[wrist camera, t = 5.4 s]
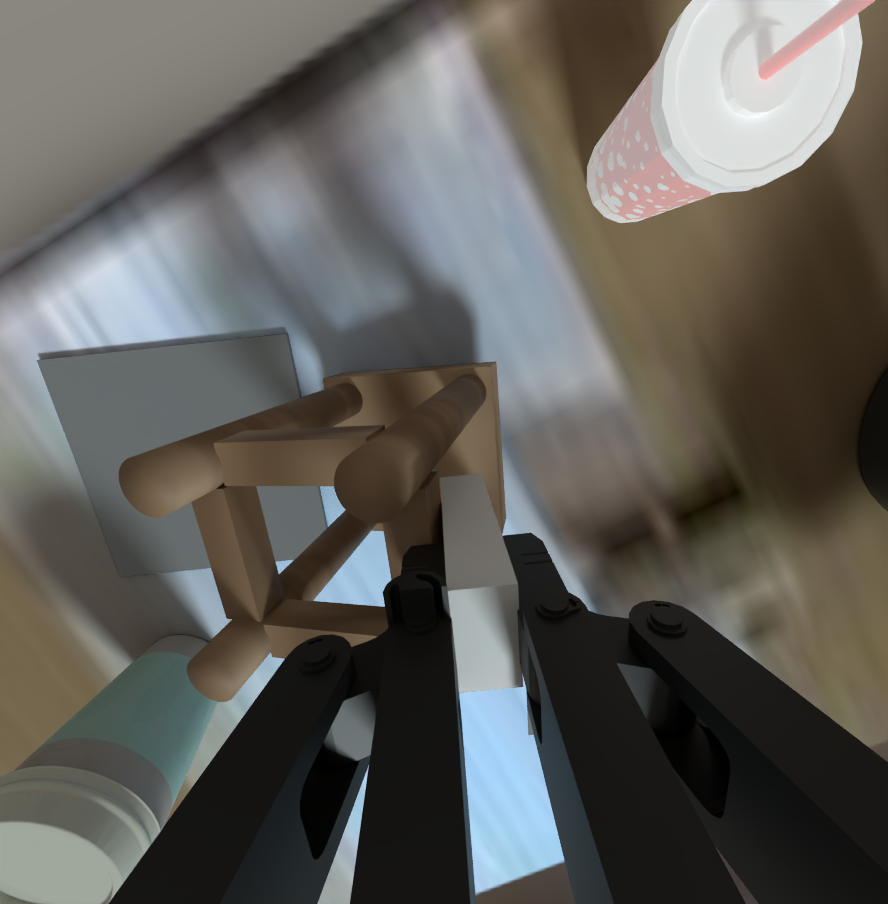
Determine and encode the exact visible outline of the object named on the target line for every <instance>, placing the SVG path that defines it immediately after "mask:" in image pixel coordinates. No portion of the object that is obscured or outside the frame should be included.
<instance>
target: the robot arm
mask: <svg viewBox="0 0 888 904" xmlns="http://www.w3.org/2000/svg"><path fill="white" fill-rule="evenodd" d="M860 463H861V469H862V473H863V477H864V479H865V482H866V484H867V486H868V488H869V490H870V492H871V493H872V495H873V497H874V498H875V499H876V500H877V502H878V503H879V504H880V505H881V506H882V507H883V508H885V509H886V510H887V511H888V370H887V372H886V373H885V375H884V376H883V378H882V379H881V381H880V383H879V385H878V386H877V388H876V390H875V392H874V394H873V396H872V399H871V401H870V403H869V406H868V408H867V411H866V414H865V418H864V421H863V425H862V430H861V436H860ZM440 482H441V499H442V517H443V535H444V543H437V544H427V545H417V546H411V547H410V548H409V549H408V551H407V552H406V553H405V554H404V556H403V560H402V570H401V575H400V576H397V577H395V578H394V579H392V580H391V581H390V582H389V583H388V584H387V585H386V587H385V589H384V591H383V596H384V603H385V609H386V615H387V621H388V629H387V630H386V631H385V632H383V633H382V634H380V635H379V636H377V637H376V638H374V639H371V640H369V641H367V642H364V643H361V644H358V645H355V646H352V647H351V645H350V643H349V642H348V641H347V640H346V639H345V638H344V637H342V636H338V635H334V634H330V635H320V636H317V637H314V638H311V639H308V640H306V641H305V642H303V643H301V644H300V645H298V646H296V647H295V648H294V649H293V650H292V652H291V653H290V654H289V655H288V656H287V657H286V658H285V660H284V661H283V662H282V664H281V665H280V667H279V668H278V669H277V671H276V672H275V674H274V675H273V676H272V678H271V679H270V680H269V682H268V683H267V685H266V686H265V687H264V689H263V690H262V692H261V693H260V694H259V696H258V697H257V698H256V700H255V701H254V703H253V704H252V705H251V707H250V708H249V710H248V711H247V712H246V714H245V715H244V716H243V718H242V719H241V721H240V722H239V723H238V725H237V726H236V728H235V729H234V730H233V732H232V733H231V734H230V736H229V737H228V739H227V740H226V741H225V743H224V744H223V746H222V747H221V748H220V750H219V751H218V752H217V754H216V755H215V757H214V758H213V759H212V761H211V762H210V764H209V765H208V766H207V768H206V769H205V770H204V772H203V773H202V775H201V776H200V777H199V779H198V780H197V782H196V783H195V784H194V786H193V787H192V788H191V790H190V791H189V793H188V794H187V795H186V797H185V798H184V800H183V801H182V802H181V804H180V805H179V807H178V808H177V809H176V811H175V812H174V813H173V815H172V816H171V818H170V819H169V820H168V822H167V823H166V825H165V826H164V827H163V829H162V830H161V831H160V833H159V834H158V836H157V837H156V838H155V840H154V841H153V843H152V844H151V845H150V847H149V848H148V849H147V851H146V852H145V854H144V855H143V856H142V858H141V859H140V861H139V862H138V863H137V865H136V866H135V867H134V869H133V870H132V872H131V873H130V874H129V876H128V877H127V879H126V880H125V881H124V883H123V884H122V885H121V887H120V888H119V890H118V891H117V892H116V894H115V895H114V897H113V898H112V899H111V901H110V902H109V903H108V904H317V903H318V900H319V898H320V895H321V892H322V889H323V887H324V884H325V881H326V879H327V876H328V873H329V871H330V868H331V865H332V862H333V860H334V857H335V854H336V852H337V849H338V846H339V844H340V841H341V838H342V835H343V833H344V830H345V827H346V825H347V822H348V819H349V817H350V814H351V811H352V808H353V806H354V803H355V800H356V798H357V795H358V792H359V790H360V787H361V784H362V781H363V779H364V776H365V773H366V771H367V768H368V765H369V769H368V777H367V784H366V791H365V798H364V806H363V813H362V820H361V827H360V835H359V842H358V849H357V857H356V864H355V871H354V878H353V886H352V893H351V900H350V904H476V898H475V886H474V873H473V860H472V847H471V834H470V822H469V809H468V796H467V783H466V770H465V758H464V745H463V732H462V719H461V709H460V700H459V693H464V692H474V691H485V690H495V689H505V688H515V687H523V677H524V681H525V685H526V689H527V711H528V733H529V735H533V734H534V737H535V741H536V745H537V749H538V753H539V757H540V762H541V766H542V770H543V774H544V778H545V782H546V786H547V790H548V794H549V798H550V802H551V806H552V811H553V815H554V819H555V823H556V827H557V831H558V835H559V839H560V843H561V847H562V851H563V855H564V860H565V864H566V867H567V872H568V876H569V880H570V883H571V888H572V892H573V896H574V900H575V904H746V903H745V901H744V900H743V898H742V896H741V894H740V892H739V890H738V888H737V887H736V885H735V883H734V881H733V879H732V877H731V875H730V873H729V872H728V870H727V868H726V866H725V864H724V862H723V861H722V859H721V857H720V855H719V853H718V851H717V849H718V850H719V852H720V853H721V854H722V856H723V857H724V858H725V860H726V861H727V862H728V863H729V865H730V866H731V868H732V869H733V870H734V872H735V873H736V874H737V875H738V877H739V878H740V879H741V881H742V882H743V883H744V885H745V886H746V887H747V889H748V890H749V891H750V893H751V894H752V895H753V896H754V898H755V899H756V901H757V902H758V903H759V904H888V762H887V761H885V760H884V759H883V758H882V757H880V756H879V755H878V754H876V753H875V752H874V751H873V750H871V749H870V748H869V747H867V746H866V745H865V744H863V743H862V742H861V741H860V740H858V739H857V738H856V737H854V736H853V735H852V734H850V733H849V732H848V731H847V730H845V729H844V728H843V727H841V726H840V725H839V724H837V723H836V722H835V721H833V720H832V719H831V718H830V717H828V716H827V715H826V714H824V713H823V712H822V711H820V710H819V709H818V708H817V707H815V706H814V705H813V704H811V703H810V702H809V701H807V700H806V699H805V698H804V697H802V696H801V695H800V694H798V693H797V692H796V691H794V690H793V689H792V688H790V687H789V686H788V685H787V684H785V683H784V682H783V681H781V680H780V679H779V678H777V677H776V676H775V675H774V674H772V673H771V672H770V671H768V670H767V669H766V668H764V667H763V666H762V665H760V664H759V663H758V662H757V661H755V660H754V659H753V658H751V657H750V656H749V655H747V654H746V653H745V652H744V651H742V650H741V649H740V648H738V647H737V646H736V645H734V644H733V643H732V642H731V641H729V640H728V639H727V638H725V637H724V636H723V635H721V634H720V633H719V632H717V631H716V630H715V629H714V628H712V627H711V626H710V625H708V624H707V623H706V622H704V621H703V620H702V619H701V618H699V617H698V616H697V615H695V614H694V613H692V612H691V611H689V610H687V609H685V608H684V607H682V606H679V605H676V604H673V603H670V602H664V601H655V600H653V601H646V602H641V603H639V604H637V605H635V606H633V608H632V610H631V611H630V613H629V619H627V618H619V617H611V616H605V615H600V614H596V613H593V612H591V611H588V609H587V607H586V605H585V604H584V603H583V602H582V601H581V600H580V599H579V598H578V597H576V596H574V595H573V594H571V593H568V591H567V589H566V587H565V585H564V583H563V581H562V579H561V577H560V575H559V573H558V571H557V569H556V567H555V565H554V563H552V559H551V557H550V555H549V554H548V551H547V549H546V547H545V545H544V543H543V541H542V540H540V539H539V538H537V537H536V536H535V535H533V534H532V533H525V534H515V535H505V536H502V534H501V531H500V528H499V525H498V521H497V518H496V515H495V512H494V509H493V506H492V503H491V500H490V497H489V494H488V491H487V488H486V485H485V482H484V479H483V476H482V473H480V474H470V475H460V476H450V477H440ZM522 673H523V677H522ZM714 845H715V846H716V847H715V846H714ZM716 848H717V849H716Z"/></svg>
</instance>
